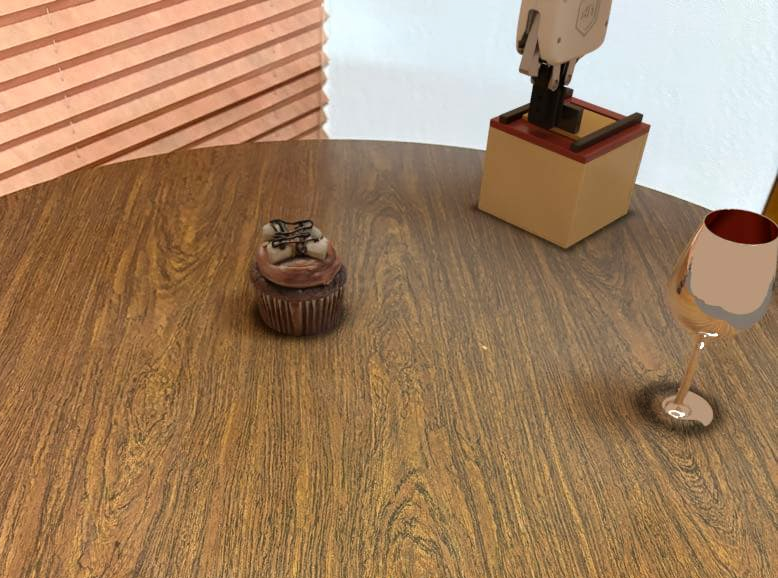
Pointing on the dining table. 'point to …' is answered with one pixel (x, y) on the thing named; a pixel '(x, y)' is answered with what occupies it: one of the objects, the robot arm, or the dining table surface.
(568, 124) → the slider
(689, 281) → the wineglass
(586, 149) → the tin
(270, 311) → the cupcake
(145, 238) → the dining table surface
